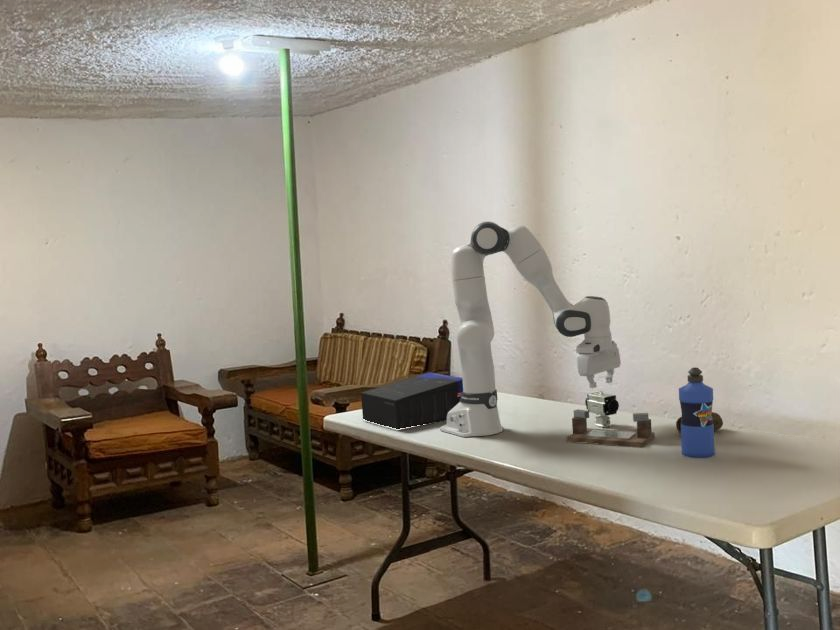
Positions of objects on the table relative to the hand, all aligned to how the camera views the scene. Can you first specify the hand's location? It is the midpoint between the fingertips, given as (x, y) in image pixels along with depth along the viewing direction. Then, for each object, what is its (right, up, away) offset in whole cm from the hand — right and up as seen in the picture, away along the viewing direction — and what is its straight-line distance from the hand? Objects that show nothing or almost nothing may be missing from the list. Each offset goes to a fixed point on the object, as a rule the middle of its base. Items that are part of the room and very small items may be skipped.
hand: (601, 385), depth 275 cm
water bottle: (+19, -17, -39) cm, 46 cm away
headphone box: (-61, -16, +35) cm, 72 cm away
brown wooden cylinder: (+28, -14, -16) cm, 35 cm away
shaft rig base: (-1, -16, -16) cm, 23 cm away
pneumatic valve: (+1, -14, +1) cm, 14 cm away
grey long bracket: (-1, -14, -16) cm, 22 cm away
